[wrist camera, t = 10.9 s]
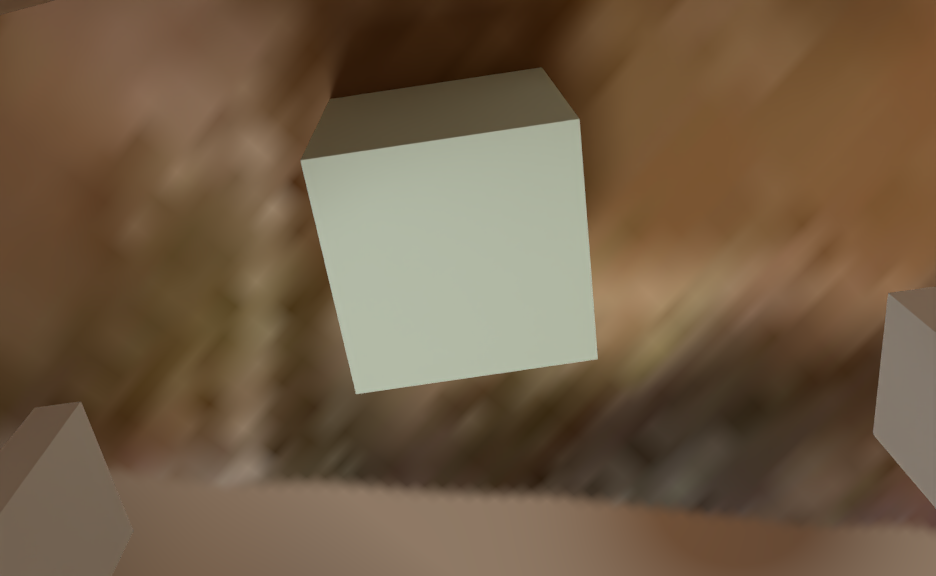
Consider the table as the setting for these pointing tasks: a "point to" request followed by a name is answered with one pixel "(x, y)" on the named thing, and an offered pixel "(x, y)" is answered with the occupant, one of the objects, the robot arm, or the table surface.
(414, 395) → the table surface
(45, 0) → the wooden block
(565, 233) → the sage cube
